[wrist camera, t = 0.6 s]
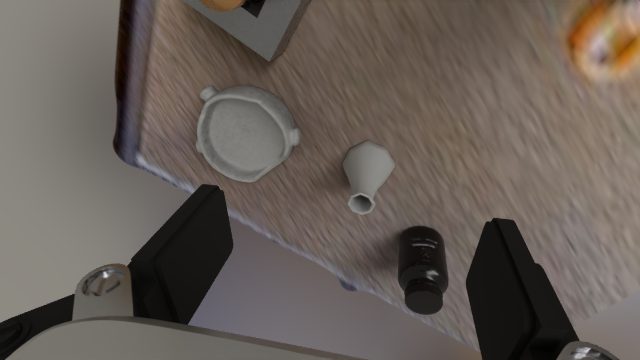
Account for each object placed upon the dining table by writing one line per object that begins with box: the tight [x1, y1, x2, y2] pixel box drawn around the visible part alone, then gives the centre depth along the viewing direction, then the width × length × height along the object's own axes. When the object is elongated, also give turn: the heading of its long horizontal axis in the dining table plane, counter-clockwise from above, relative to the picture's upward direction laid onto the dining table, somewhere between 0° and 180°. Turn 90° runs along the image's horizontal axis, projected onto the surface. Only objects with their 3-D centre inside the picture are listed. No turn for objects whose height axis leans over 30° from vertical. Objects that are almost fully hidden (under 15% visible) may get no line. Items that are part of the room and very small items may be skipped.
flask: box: [342, 140, 396, 216], centre depth 43 cm, size 7×7×10 cm
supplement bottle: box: [398, 226, 448, 315], centre depth 47 cm, size 7×7×12 cm
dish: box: [196, 86, 301, 183], centre depth 46 cm, size 14×14×5 cm
